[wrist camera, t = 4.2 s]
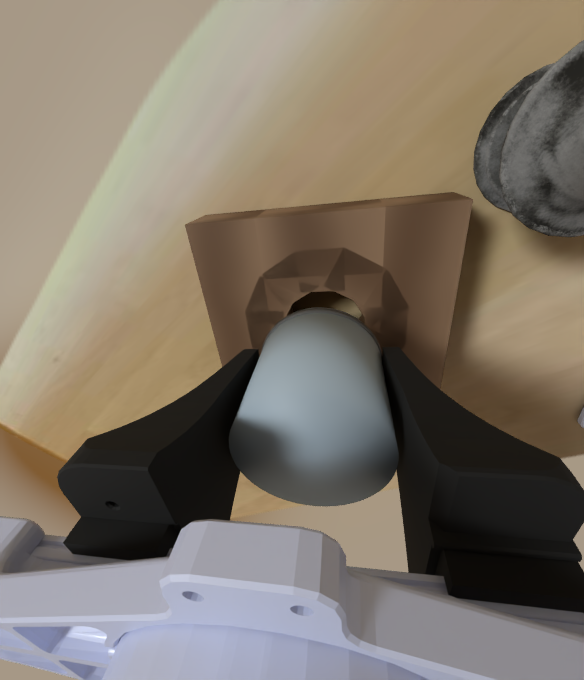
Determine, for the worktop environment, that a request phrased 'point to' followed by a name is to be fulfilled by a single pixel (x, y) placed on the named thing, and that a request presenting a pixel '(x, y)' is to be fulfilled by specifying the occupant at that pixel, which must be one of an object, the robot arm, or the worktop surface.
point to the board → (337, 269)
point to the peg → (317, 412)
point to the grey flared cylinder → (538, 149)
